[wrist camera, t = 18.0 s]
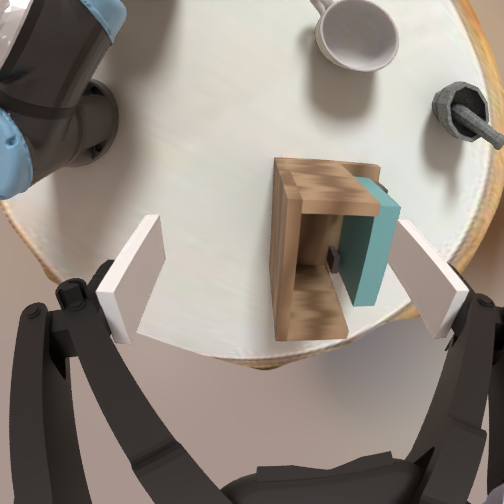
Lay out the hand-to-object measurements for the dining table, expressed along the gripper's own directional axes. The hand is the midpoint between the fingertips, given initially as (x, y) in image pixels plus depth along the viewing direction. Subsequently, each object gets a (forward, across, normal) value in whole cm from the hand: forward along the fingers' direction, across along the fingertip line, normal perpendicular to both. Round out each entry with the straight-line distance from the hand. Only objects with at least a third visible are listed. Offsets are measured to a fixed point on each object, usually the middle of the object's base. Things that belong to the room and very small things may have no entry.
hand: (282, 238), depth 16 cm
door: (+30, +16, -13) cm, 36 cm away
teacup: (+32, +11, +18) cm, 38 cm away
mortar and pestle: (+32, +32, +9) cm, 46 cm away
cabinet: (+32, +10, -13) cm, 36 cm away
